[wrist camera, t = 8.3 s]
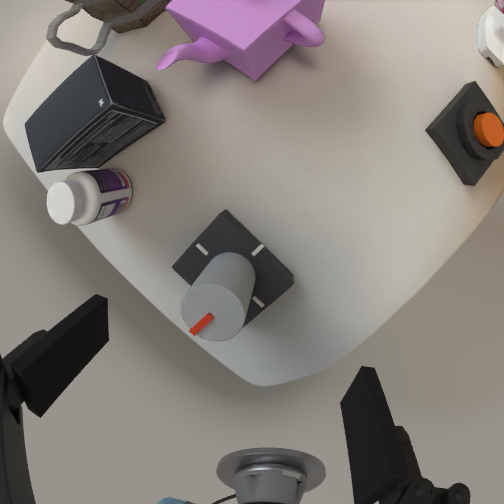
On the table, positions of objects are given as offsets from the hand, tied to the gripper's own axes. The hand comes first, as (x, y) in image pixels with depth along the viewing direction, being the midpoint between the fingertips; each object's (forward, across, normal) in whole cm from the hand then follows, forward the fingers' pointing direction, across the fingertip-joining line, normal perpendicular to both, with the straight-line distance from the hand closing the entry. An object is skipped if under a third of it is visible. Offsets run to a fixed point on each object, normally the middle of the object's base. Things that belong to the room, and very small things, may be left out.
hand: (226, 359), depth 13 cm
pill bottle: (+18, -18, +3) cm, 26 cm away
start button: (+15, +20, +20) cm, 32 cm away
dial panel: (+18, -2, -2) cm, 18 cm away
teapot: (+18, -6, +24) cm, 31 cm away
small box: (+18, -19, +11) cm, 29 cm away
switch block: (+18, +20, +20) cm, 34 cm away
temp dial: (+16, -2, -2) cm, 16 cm away
